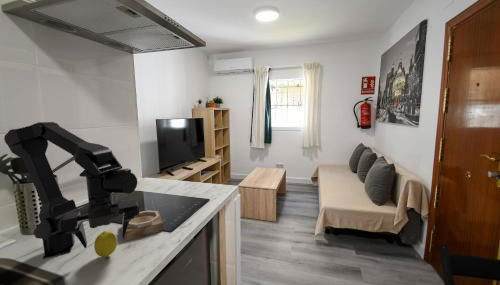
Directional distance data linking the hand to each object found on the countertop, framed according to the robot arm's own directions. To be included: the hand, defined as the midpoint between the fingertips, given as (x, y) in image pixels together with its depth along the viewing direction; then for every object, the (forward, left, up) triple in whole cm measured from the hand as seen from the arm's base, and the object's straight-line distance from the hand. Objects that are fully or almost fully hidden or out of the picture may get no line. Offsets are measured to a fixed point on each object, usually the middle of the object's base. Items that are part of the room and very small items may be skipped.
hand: (105, 242), depth 64 cm
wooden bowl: (+11, +13, -5) cm, 18 cm away
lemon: (0, 0, -5) cm, 5 cm away
